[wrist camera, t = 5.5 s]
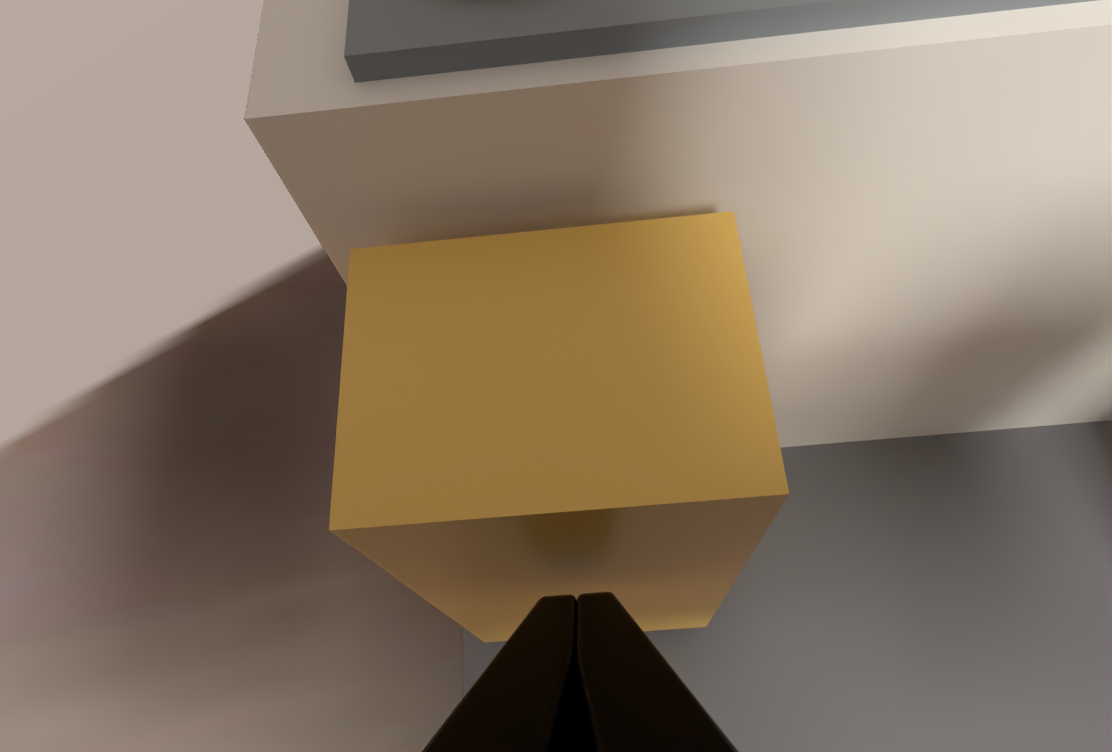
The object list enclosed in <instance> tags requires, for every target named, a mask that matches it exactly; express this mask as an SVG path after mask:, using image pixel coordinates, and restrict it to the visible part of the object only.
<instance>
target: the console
mask: <svg viewBox="0 0 1112 752" xmlns="http://www.w3.org/2000/svg"><path fill="white" fill-rule="evenodd" d="M244 119H245V121H246V123H247V124H248V126H249V127H250V129H251V131H252V132H253V134H254V136H255V137H256V139H257V140H258V142H259V143H260V145H261V147H262V148H263V150H264V152H265V153H266V155H267V157H268V158H269V160H270V162H271V163H272V165H273V167H274V168H275V170H276V171H277V173H278V175H279V176H280V178H281V179H282V181H283V183H284V184H285V186H286V188H287V189H288V191H289V193H290V194H291V196H292V197H293V199H294V201H295V202H296V204H297V206H298V207H299V209H300V210H301V212H302V214H303V215H304V217H305V219H306V220H307V222H308V223H309V225H310V227H311V228H312V230H313V231H314V233H315V235H316V237H317V238H318V240H319V241H320V243H321V245H322V246H323V248H324V250H325V251H326V253H327V254H328V256H329V258H330V259H331V261H332V263H333V264H334V266H335V267H336V269H337V271H338V272H339V274H340V276H341V277H342V279H343V280H344V282H345V284H346V285H347V284H348V271H349V258H350V249H356V248H366V247H376V246H386V245H396V244H406V243H416V242H426V241H437V240H447V239H457V238H467V237H477V236H487V235H497V234H507V233H517V232H527V231H538V230H548V229H558V228H568V227H578V226H588V225H598V224H608V223H618V222H628V221H639V220H649V219H659V218H669V217H679V216H689V215H699V214H709V213H719V212H729V211H734V215H735V220H736V225H737V230H738V235H739V240H740V245H741V250H742V255H743V260H744V265H745V271H746V276H747V281H748V286H749V291H750V296H751V301H752V306H753V311H754V316H755V321H756V327H757V332H758V337H759V342H760V347H761V352H762V357H763V362H764V367H765V372H766V378H767V383H768V388H769V393H770V398H771V403H772V408H773V413H774V418H775V423H776V428H777V434H778V439H779V444H780V449H781V454H782V459H783V464H784V469H785V474H786V479H787V484H788V490H789V495H788V497H787V499H786V500H785V502H784V503H783V505H782V507H781V508H780V510H779V511H778V513H777V515H776V516H775V518H774V519H773V521H772V523H771V524H770V526H769V527H768V529H767V531H766V532H765V534H764V535H763V537H762V539H761V540H760V542H759V543H758V545H757V547H756V548H755V550H754V551H753V553H752V555H751V556H750V558H749V559H748V561H747V563H746V564H745V566H744V567H743V569H742V571H741V572H740V574H739V575H738V577H737V579H736V580H735V582H734V583H733V585H732V587H731V588H730V590H729V591H728V593H727V595H726V596H725V598H724V599H723V601H722V603H721V604H720V606H719V607H718V609H717V611H716V612H715V614H714V615H713V617H712V618H711V620H710V622H709V623H708V625H707V626H706V627H698V628H684V629H669V630H655V631H643V632H644V633H645V634H646V635H647V637H648V638H649V639H650V640H651V642H652V643H653V644H654V646H655V647H656V648H657V649H658V651H659V652H660V653H661V654H662V656H663V657H664V658H665V659H666V661H667V662H668V663H669V664H670V666H671V667H672V668H673V669H674V671H675V672H676V673H677V675H678V676H679V677H680V678H681V680H682V681H683V682H684V683H685V685H686V686H687V687H688V688H689V690H690V691H691V692H692V693H693V695H694V696H695V697H696V698H697V700H698V701H699V702H700V704H701V705H702V706H703V707H704V709H705V710H706V711H707V712H708V714H709V715H710V716H711V717H712V719H713V720H714V721H715V722H716V724H717V725H718V726H719V727H720V729H721V730H722V731H723V733H724V734H725V735H726V736H727V738H728V739H729V740H730V741H731V743H732V744H733V745H734V746H735V748H736V749H737V750H738V751H739V752H1112V0H264V2H263V8H262V14H261V20H260V27H259V33H258V39H257V45H256V51H255V57H254V63H253V69H252V75H251V82H250V88H249V94H248V100H247V106H246V113H245V118H244ZM506 642H507V641H498V642H483V641H482V640H480V639H479V638H477V637H476V636H475V635H473V634H472V633H471V632H469V631H468V630H466V629H465V628H464V627H463V698H464V696H465V695H466V694H467V692H468V691H469V690H470V689H471V687H472V686H473V685H474V683H475V682H476V681H477V679H478V678H479V677H480V676H481V674H482V673H483V672H484V670H485V669H486V668H487V666H488V665H489V664H490V663H491V661H492V660H493V659H494V657H495V656H496V655H497V653H498V652H499V651H500V650H501V648H502V647H503V646H504V644H505V643H506Z"/></svg>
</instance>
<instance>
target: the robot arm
mask: <svg viewBox="0 0 1112 752" xmlns="http://www.w3.org/2000/svg"><path fill="white" fill-rule="evenodd" d="M422 752H739V751H738V750H737V749H736V748H735V746H734V745H733V744H732V743H731V741H730V740H729V739H728V738H727V736H726V735H725V734H724V733H723V731H722V730H721V729H720V727H719V726H718V725H717V724H716V722H715V721H714V720H713V719H712V717H711V716H710V715H709V714H708V712H707V711H706V710H705V709H704V707H703V706H702V705H701V704H700V702H699V701H698V700H697V698H696V697H695V696H694V695H693V693H692V692H691V691H690V690H689V688H688V687H687V686H686V685H685V683H684V682H683V681H682V680H681V678H680V677H679V676H678V675H677V673H676V672H675V671H674V669H673V668H672V667H671V666H670V664H669V663H668V662H667V661H666V659H665V658H664V657H663V656H662V654H661V653H660V652H659V651H658V649H657V648H656V647H655V646H654V644H653V643H652V642H651V640H650V639H649V638H648V637H647V635H646V634H645V633H644V632H643V630H642V629H641V628H640V627H639V625H638V624H637V623H636V622H635V620H634V619H633V618H632V617H631V615H630V614H629V613H628V611H627V610H626V609H625V608H624V606H623V605H622V604H621V603H620V601H619V600H618V599H617V598H616V596H615V595H614V594H613V593H611V592H597V593H584V594H581V595H579V596H578V598H577V600H576V598H575V596H573V595H556V596H544V597H542V598H540V599H539V600H538V602H537V603H536V604H535V605H534V607H533V608H532V609H531V611H530V612H529V613H528V615H527V616H526V617H525V618H524V620H523V621H522V622H521V624H520V625H519V626H518V628H517V629H516V630H515V631H514V633H513V634H512V635H511V637H510V638H509V639H508V640H507V642H506V643H505V644H504V646H503V647H502V648H501V650H500V651H499V652H498V653H497V655H496V656H495V657H494V659H493V660H492V661H491V663H490V664H489V665H488V666H487V668H486V669H485V670H484V672H483V673H482V674H481V676H480V677H479V678H478V679H477V681H476V682H475V683H474V685H473V686H472V687H471V689H470V690H469V691H468V692H467V694H466V695H465V696H464V698H463V699H462V700H461V702H460V703H459V704H458V705H457V707H456V708H455V709H454V711H453V712H452V713H451V715H450V716H449V717H448V718H447V720H446V721H445V722H444V724H443V725H442V726H441V728H440V729H439V730H438V731H437V733H436V734H435V735H434V737H433V738H432V739H431V741H430V742H429V743H428V744H427V746H426V747H425V748H424V750H423V751H422Z"/></svg>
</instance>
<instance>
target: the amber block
mask: <svg viewBox="0 0 1112 752" xmlns="http://www.w3.org/2000/svg"><path fill="white" fill-rule="evenodd" d="M788 495H789V490H788V484H787V479H786V474H785V469H784V464H783V459H782V454H781V449H780V444H779V439H778V434H777V428H776V423H775V418H774V413H773V408H772V403H771V398H770V393H769V388H768V383H767V378H766V372H765V367H764V362H763V357H762V352H761V347H760V342H759V337H758V332H757V327H756V321H755V316H754V311H753V306H752V301H751V296H750V291H749V286H748V281H747V276H746V271H745V265H744V260H743V255H742V250H741V245H740V240H739V235H738V230H737V225H736V220H735V215H734V211H729V212H719V213H709V214H699V215H689V216H679V217H669V218H659V219H649V220H639V221H628V222H618V223H608V224H598V225H588V226H578V227H568V228H558V229H548V230H538V231H527V232H517V233H507V234H497V235H487V236H477V237H467V238H457V239H447V240H437V241H426V242H416V243H406V244H396V245H386V246H376V247H366V248H356V249H350V258H349V271H348V284H347V298H346V311H345V324H344V337H343V350H342V364H341V377H340V390H339V403H338V417H337V430H336V443H335V456H334V470H333V483H332V496H331V509H330V523H329V531H330V532H332V533H333V534H335V535H336V536H337V537H339V538H340V539H341V540H343V541H344V542H346V543H347V544H348V545H350V546H351V547H353V548H354V549H355V550H357V551H358V552H360V553H361V554H362V555H364V556H365V557H366V558H368V559H369V560H371V561H372V562H373V563H375V564H376V565H378V566H379V567H380V568H382V569H383V570H384V571H386V572H387V573H389V574H390V575H391V576H393V577H394V578H396V579H397V580H398V581H400V582H401V583H403V584H404V585H405V586H407V587H408V588H409V589H411V590H412V591H414V592H415V593H416V594H418V595H419V596H421V597H422V598H423V599H425V600H426V601H428V602H429V603H430V604H432V605H433V606H434V607H436V608H437V609H439V610H440V611H441V612H443V613H444V614H446V615H447V616H448V617H450V618H451V619H453V620H454V621H455V622H457V623H458V624H459V625H461V626H462V627H464V628H465V629H466V630H468V631H469V632H471V633H472V634H473V635H475V636H476V637H477V638H479V639H480V640H482V641H483V642H498V641H507V640H508V639H509V638H510V637H511V635H512V634H513V633H514V631H515V630H516V629H517V628H518V626H519V625H520V624H521V622H522V621H523V620H524V618H525V617H526V616H527V615H528V613H529V612H530V611H531V609H532V608H533V607H534V605H535V604H536V603H537V602H538V600H539V599H540V598H542V597H544V596H556V595H573V596H575V598H576V600H577V598H578V596H579V595H581V594H584V593H597V592H611V593H613V594H614V595H615V596H616V598H617V599H618V600H619V601H620V603H621V604H622V605H623V606H624V608H625V609H626V610H627V611H628V613H629V614H630V615H631V617H632V618H633V619H634V620H635V622H636V623H637V624H638V625H639V627H640V628H641V629H642V630H643V631H655V630H669V629H684V628H698V627H706V626H707V625H708V623H709V622H710V620H711V618H712V617H713V615H714V614H715V612H716V611H717V609H718V607H719V606H720V604H721V603H722V601H723V599H724V598H725V596H726V595H727V593H728V591H729V590H730V588H731V587H732V585H733V583H734V582H735V580H736V579H737V577H738V575H739V574H740V572H741V571H742V569H743V567H744V566H745V564H746V563H747V561H748V559H749V558H750V556H751V555H752V553H753V551H754V550H755V548H756V547H757V545H758V543H759V542H760V540H761V539H762V537H763V535H764V534H765V532H766V531H767V529H768V527H769V526H770V524H771V523H772V521H773V519H774V518H775V516H776V515H777V513H778V511H779V510H780V508H781V507H782V505H783V503H784V502H785V500H786V499H787V497H788Z"/></svg>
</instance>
